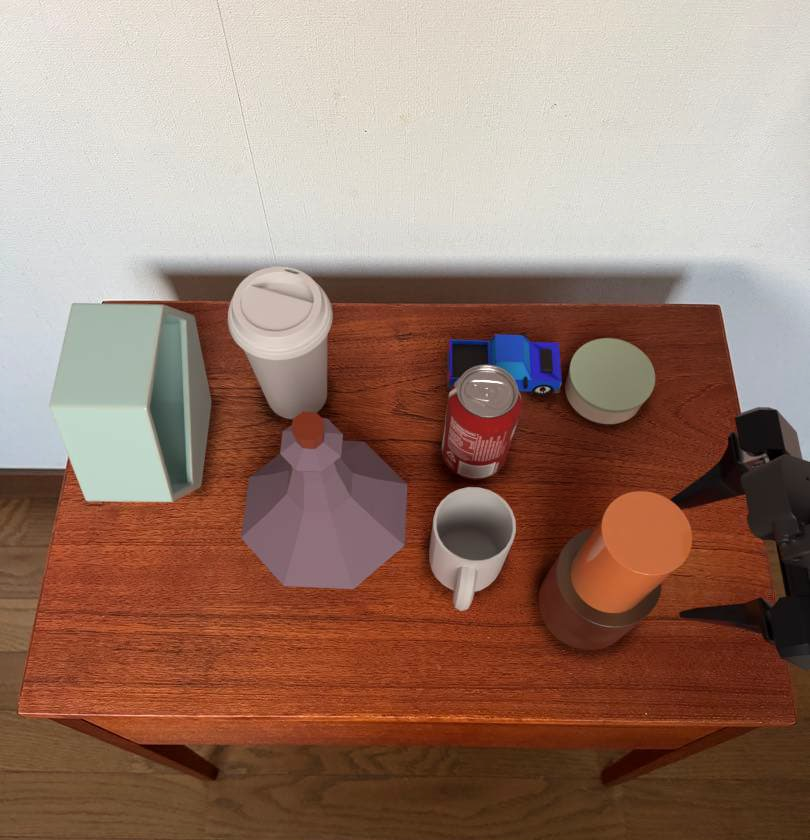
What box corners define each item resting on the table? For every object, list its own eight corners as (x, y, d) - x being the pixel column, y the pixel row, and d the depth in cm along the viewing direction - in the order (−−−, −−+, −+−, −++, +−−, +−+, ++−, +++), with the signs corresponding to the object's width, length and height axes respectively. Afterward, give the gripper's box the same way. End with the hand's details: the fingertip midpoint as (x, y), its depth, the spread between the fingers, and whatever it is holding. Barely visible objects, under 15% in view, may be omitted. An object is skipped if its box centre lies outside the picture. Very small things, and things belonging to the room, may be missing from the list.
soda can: (498, 489, 74) (517, 431, 63) (434, 474, 75) (441, 412, 64) (511, 434, 77) (532, 368, 66) (449, 419, 78) (459, 351, 66)
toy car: (557, 404, 79) (567, 377, 74) (446, 400, 78) (449, 374, 74) (554, 352, 81) (563, 324, 77) (446, 349, 81) (449, 320, 76)
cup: (504, 530, 73) (519, 492, 65) (495, 627, 69) (509, 600, 61) (433, 520, 73) (438, 481, 65) (419, 616, 69) (423, 588, 61)
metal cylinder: (637, 573, 71) (668, 541, 63) (624, 661, 68) (654, 639, 60) (547, 550, 72) (566, 516, 64) (529, 636, 69) (547, 611, 61)
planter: (214, 480, 79) (153, 513, 59) (143, 479, 79) (56, 512, 59) (208, 319, 76) (142, 296, 56) (134, 318, 76) (40, 294, 56)
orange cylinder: (653, 551, 63) (697, 503, 54) (641, 622, 61) (686, 585, 51) (578, 531, 64) (609, 481, 54) (563, 601, 61) (594, 561, 52)
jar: (650, 366, 81) (660, 348, 78) (639, 434, 77) (649, 419, 74) (570, 347, 81) (577, 329, 78) (556, 414, 78) (562, 398, 75)
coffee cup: (359, 390, 79) (353, 297, 65) (298, 449, 76) (278, 364, 62) (295, 342, 81) (276, 242, 67) (233, 397, 78) (200, 305, 64)
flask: (379, 435, 77) (376, 311, 58) (435, 575, 71) (451, 486, 52) (227, 482, 74) (173, 368, 56) (272, 631, 68) (228, 558, 50)
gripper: (834, 335, 46) (612, 420, 56) (906, 620, 39) (637, 659, 49) (879, 404, 54) (676, 468, 64) (947, 655, 47) (706, 682, 57)
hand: (673, 559), depth 58 cm, fingers open, 9 cm apart
